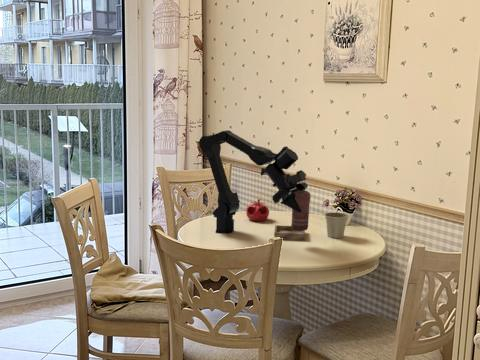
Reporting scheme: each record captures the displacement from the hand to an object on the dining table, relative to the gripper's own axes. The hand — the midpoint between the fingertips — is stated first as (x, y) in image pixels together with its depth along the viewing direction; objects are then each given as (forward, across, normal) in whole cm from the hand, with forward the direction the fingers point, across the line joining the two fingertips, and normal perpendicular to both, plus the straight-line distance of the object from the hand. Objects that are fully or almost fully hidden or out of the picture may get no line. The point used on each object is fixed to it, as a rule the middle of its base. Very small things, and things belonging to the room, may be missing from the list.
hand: (304, 210), depth 206 cm
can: (+4, 0, +6) cm, 7 cm away
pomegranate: (-14, +24, +34) cm, 44 cm away
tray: (+2, +9, +17) cm, 19 cm away
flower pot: (+13, +19, +6) cm, 24 cm away
